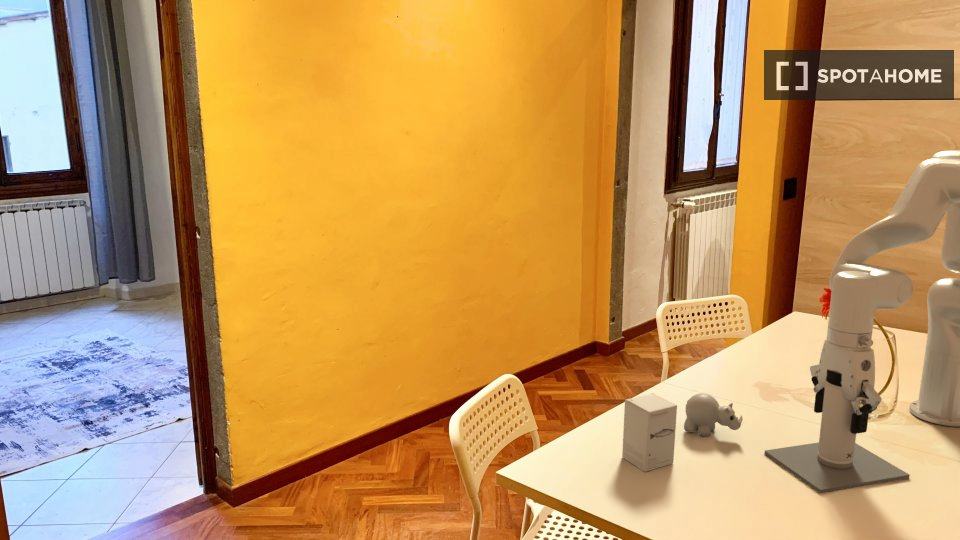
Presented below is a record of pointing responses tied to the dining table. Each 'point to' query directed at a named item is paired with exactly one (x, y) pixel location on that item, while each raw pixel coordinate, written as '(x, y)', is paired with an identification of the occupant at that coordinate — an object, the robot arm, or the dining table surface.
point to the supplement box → (649, 431)
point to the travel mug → (836, 426)
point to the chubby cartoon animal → (708, 415)
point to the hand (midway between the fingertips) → (839, 421)
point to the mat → (829, 479)
